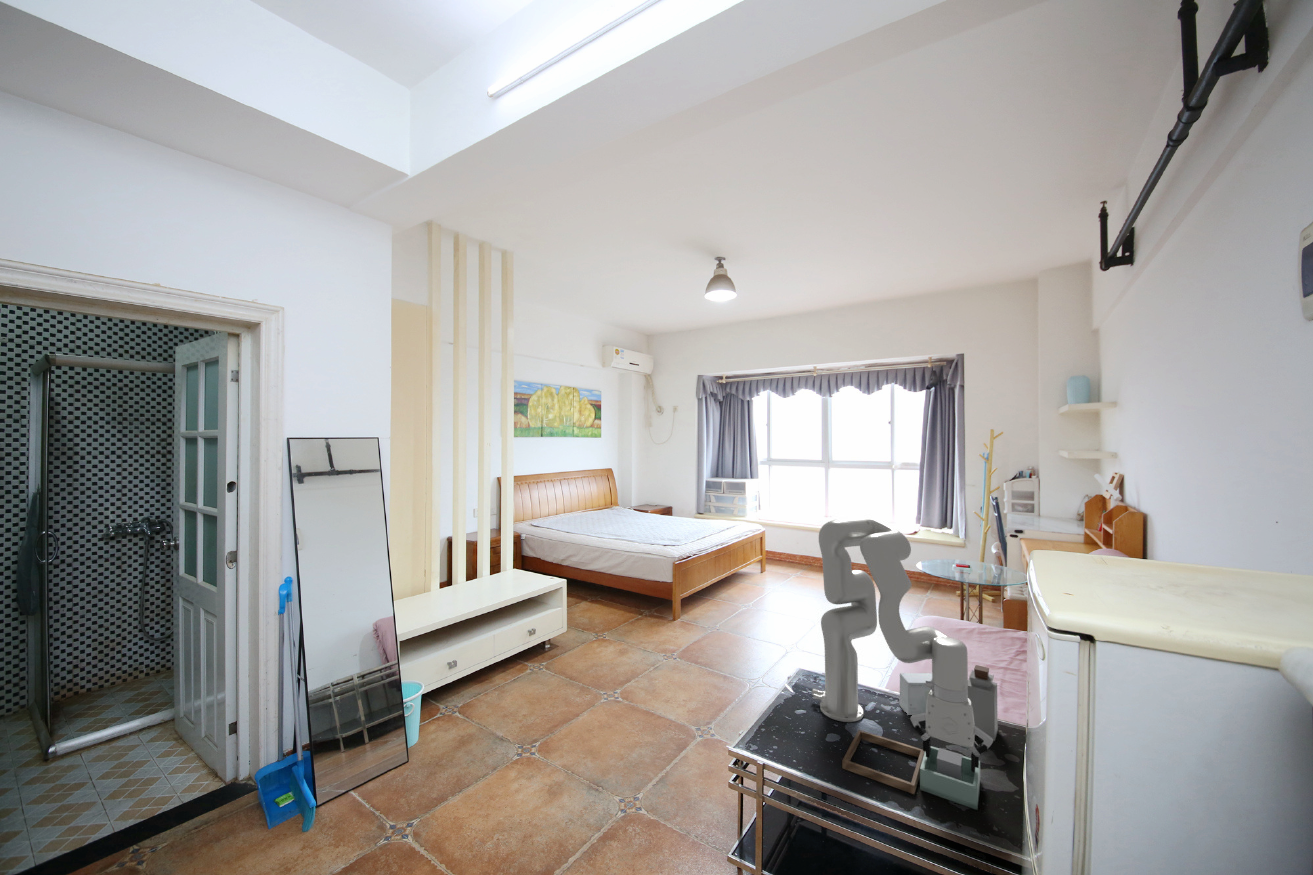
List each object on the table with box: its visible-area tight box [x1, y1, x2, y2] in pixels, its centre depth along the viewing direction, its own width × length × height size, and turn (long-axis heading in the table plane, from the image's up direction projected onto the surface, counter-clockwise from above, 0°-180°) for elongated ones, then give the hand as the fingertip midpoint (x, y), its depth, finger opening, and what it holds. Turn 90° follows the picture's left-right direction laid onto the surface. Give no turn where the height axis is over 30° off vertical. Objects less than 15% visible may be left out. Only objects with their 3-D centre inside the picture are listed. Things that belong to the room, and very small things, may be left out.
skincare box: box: [899, 672, 932, 716], centre depth 156 cm, size 10×6×10 cm, turn 88°
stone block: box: [937, 747, 963, 781], centre depth 123 cm, size 5×5×6 cm
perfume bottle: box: [968, 664, 999, 742], centre depth 145 cm, size 7×7×18 cm
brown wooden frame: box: [841, 729, 925, 795], centre depth 132 cm, size 17×17×2 cm
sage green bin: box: [919, 745, 981, 811], centre depth 123 cm, size 12×12×5 cm
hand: (950, 761), depth 123 cm, fingers open, 9 cm apart
